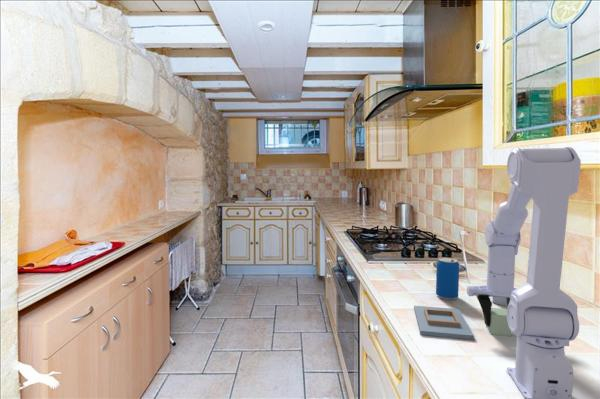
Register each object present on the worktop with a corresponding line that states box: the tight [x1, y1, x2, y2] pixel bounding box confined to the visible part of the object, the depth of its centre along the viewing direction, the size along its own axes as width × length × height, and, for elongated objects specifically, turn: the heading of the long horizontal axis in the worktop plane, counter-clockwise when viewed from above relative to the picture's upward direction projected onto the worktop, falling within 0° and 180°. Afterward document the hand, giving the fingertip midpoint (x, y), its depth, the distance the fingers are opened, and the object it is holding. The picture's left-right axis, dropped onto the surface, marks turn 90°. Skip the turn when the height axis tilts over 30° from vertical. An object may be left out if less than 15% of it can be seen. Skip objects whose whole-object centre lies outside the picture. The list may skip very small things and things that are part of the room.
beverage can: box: [435, 256, 460, 301], centre depth 108 cm, size 6×6×12 cm
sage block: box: [485, 307, 512, 337], centre depth 85 cm, size 4×4×5 cm
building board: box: [413, 305, 475, 341], centre depth 90 cm, size 16×12×2 cm
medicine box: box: [491, 273, 515, 307], centre depth 105 cm, size 8×4×9 cm, turn 141°
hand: (498, 325), depth 85 cm, fingers closed on sage block, 4 cm apart
